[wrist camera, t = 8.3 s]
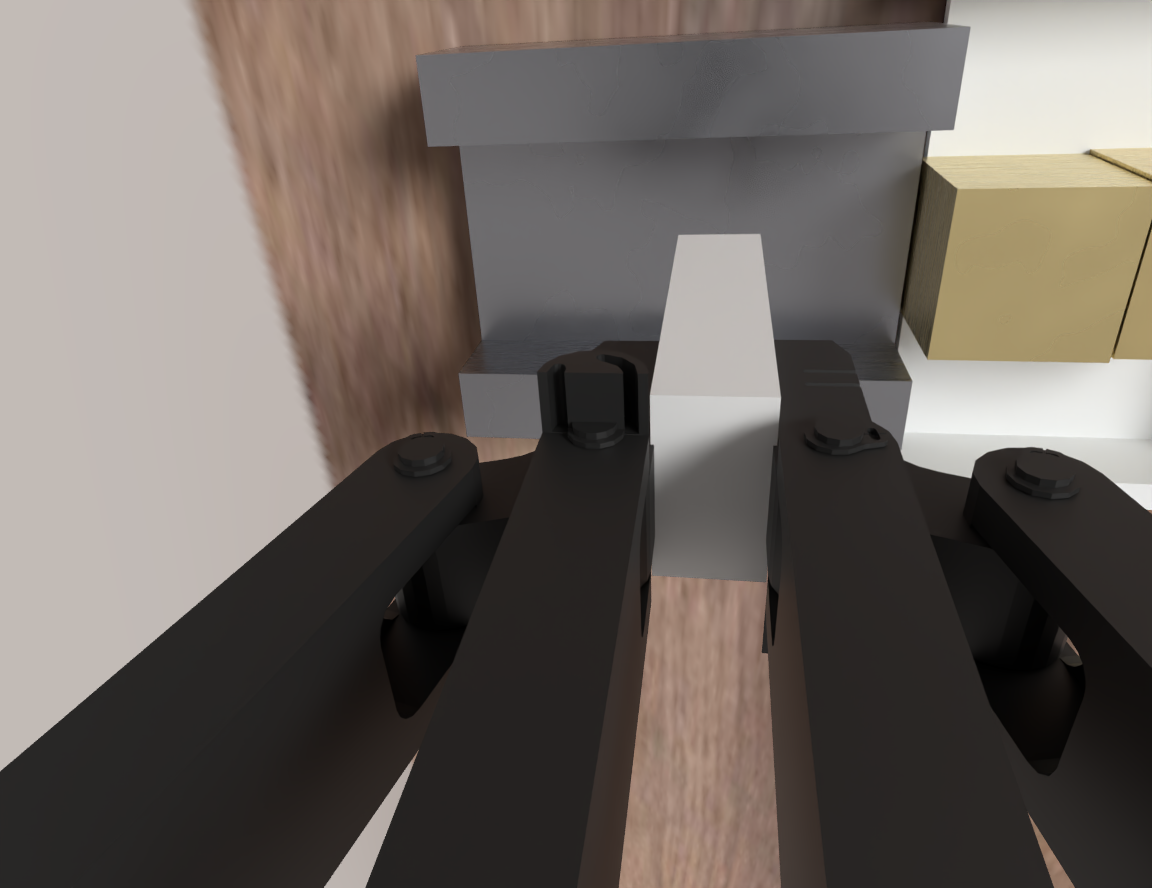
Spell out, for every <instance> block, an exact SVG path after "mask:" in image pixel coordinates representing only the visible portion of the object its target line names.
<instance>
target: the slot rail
mask: <svg viewBox="0 0 1152 888" xmlns="http://www.w3.org/2000/svg"><path fill="white" fill-rule="evenodd" d="M970 29H971V27H969V26H961V25H953V24H945V23H938V22H915V23H896V24H877V25H858V26H839V27H820V28H801V29H783V30H764V31H745V32H726V33H707V34H688V35H669V36H651V37H632V38H613V39H594V40H575V41H556V42H537V43H518V44H500V45H481V46H462V47H456V48H451V49H446V50H441V51H436V52H431V53H425V54H420V55H416V62H417V70H418V77H419V84H420V92H421V99H422V107H423V114H424V121H425V129H426V136H427V144H428V147H436V146H459V148H460V157H461V165H462V174H463V182H464V191H465V199H466V208H467V216H468V225H469V234H470V242H471V251H472V259H473V268H474V276H475V285H476V293H477V302H478V310H479V319H480V328H481V336H482V341H481V342H480V344H479V345H478V347H477V348H476V349H475V351H474V352H473V354H472V355H471V356H470V358H469V359H468V361H467V362H466V364H465V365H464V366H463V368H462V369H461V371H460V372H459V381H460V388H461V395H462V403H463V410H464V418H465V425H466V433H467V437H499V438H531V439H540V437H541V434H542V424H541V413H540V402H539V391H538V380H537V371H538V370H539V369H540V368H541V367H542V366H543V365H544V364H545V363H546V362H548V361H550V360H552V359H554V358H556V357H558V356H561V355H565V354H570V353H574V352H578V351H591V350H593V349H594V348H596V347H597V346H598V345H600V344H601V343H602V342H604V341H605V340H611V341H660V336H661V330H662V324H663V319H664V313H665V308H666V302H667V296H668V291H669V285H670V280H671V274H672V268H673V263H674V257H675V252H676V246H677V240H678V235H710V234H761V242H762V250H763V258H764V266H765V274H766V282H767V290H768V298H769V306H770V314H771V322H772V330H773V338H774V340H832V341H834V342H835V343H836V344H838V345H839V346H840V347H842V348H843V349H844V350H846V351H847V352H848V353H849V354H851V357H852V360H853V363H854V367H855V370H856V374H857V376H858V379H859V382H860V387H861V389H862V392H863V395H864V398H865V401H866V404H867V408H868V411H869V414H870V417H871V420H872V422H874V423H876V424H878V425H879V426H881V427H883V428H884V429H886V430H888V431H889V432H890V433H891V434H892V436H893V437H894V438H895V440H896V441H897V442H898V445H899V448H900V450H901V449H902V443H903V437H904V431H905V425H906V419H907V413H908V407H909V400H910V394H911V388H912V382H913V381H912V379H911V377H910V375H909V373H908V371H907V369H906V367H905V365H904V363H903V361H902V359H901V357H900V354H899V352H898V350H897V348H896V346H895V339H896V332H897V325H898V318H899V312H900V305H901V298H902V291H903V285H904V278H905V271H906V265H907V258H908V251H909V244H910V238H911V231H912V224H913V217H914V211H915V204H916V197H917V191H918V184H919V177H920V170H921V164H922V157H923V150H924V143H925V137H926V131H942V130H954V126H955V120H956V114H957V108H958V102H959V96H960V90H961V83H962V77H963V71H964V65H965V59H966V53H967V47H968V41H969V35H970Z"/></svg>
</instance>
